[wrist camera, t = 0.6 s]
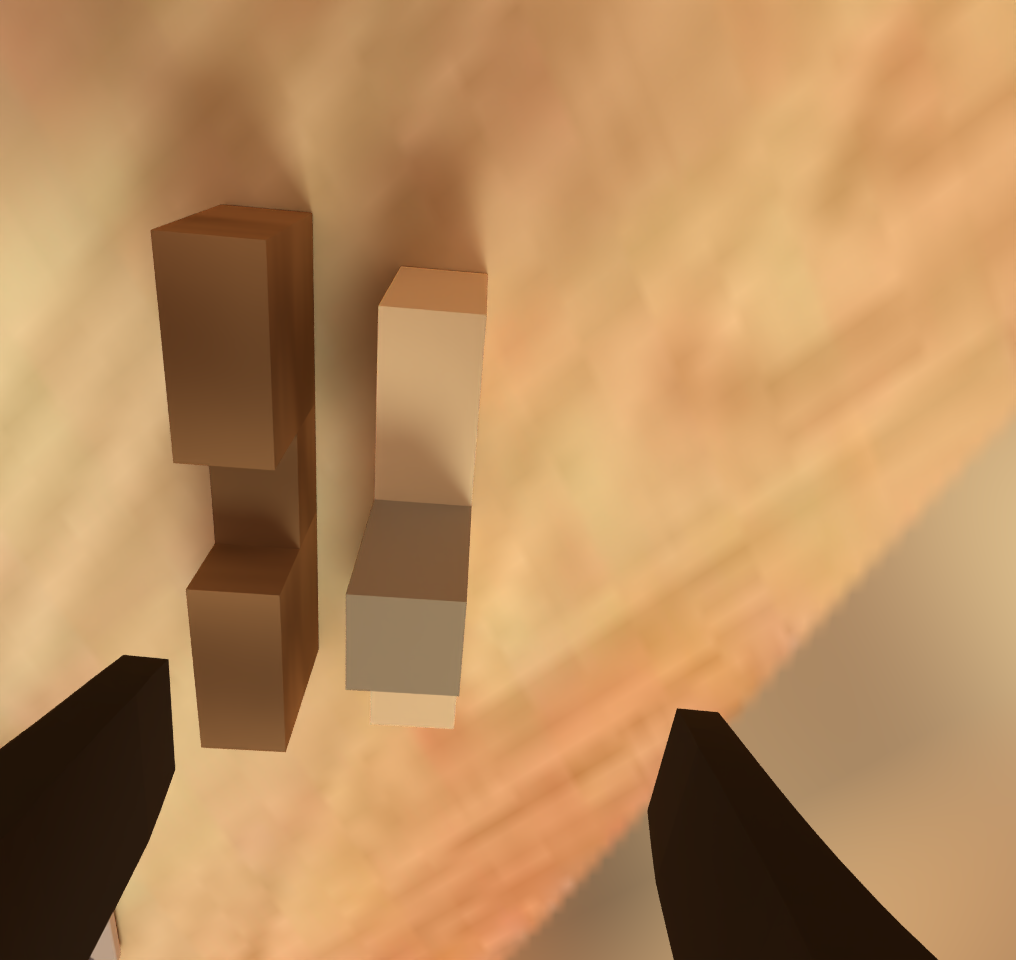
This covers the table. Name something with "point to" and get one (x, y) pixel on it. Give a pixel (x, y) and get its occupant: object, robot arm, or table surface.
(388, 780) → the table surface
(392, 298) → the burr puzzle piece
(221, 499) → the walnut slotted plate
